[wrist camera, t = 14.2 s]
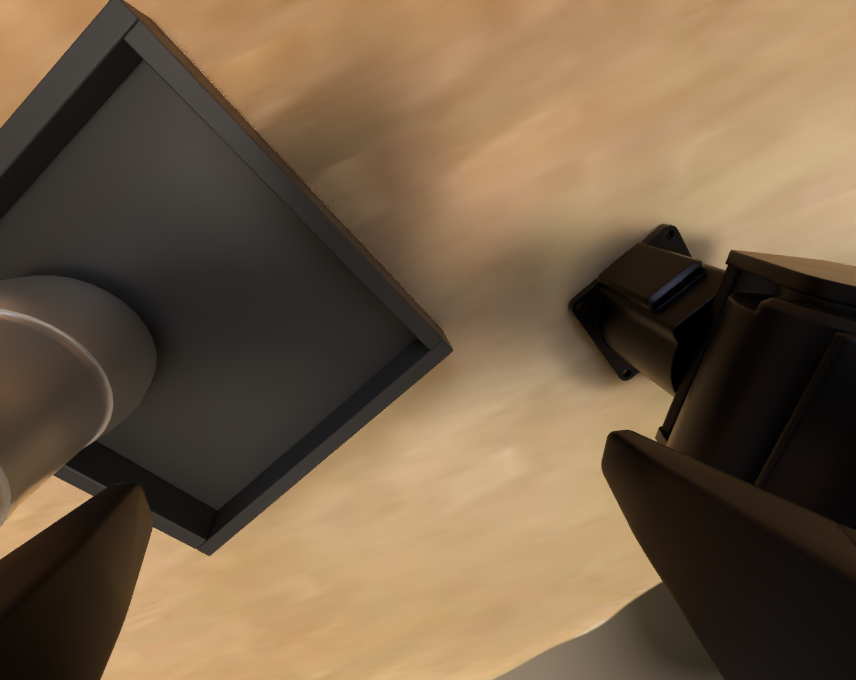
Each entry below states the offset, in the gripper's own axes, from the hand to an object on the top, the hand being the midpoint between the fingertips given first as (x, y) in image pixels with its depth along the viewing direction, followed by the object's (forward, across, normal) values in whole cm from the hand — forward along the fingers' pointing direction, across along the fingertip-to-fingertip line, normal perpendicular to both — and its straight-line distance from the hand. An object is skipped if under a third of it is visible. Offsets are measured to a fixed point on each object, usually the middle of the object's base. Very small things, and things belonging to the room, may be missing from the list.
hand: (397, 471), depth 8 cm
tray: (+13, +8, +2) cm, 15 cm away
